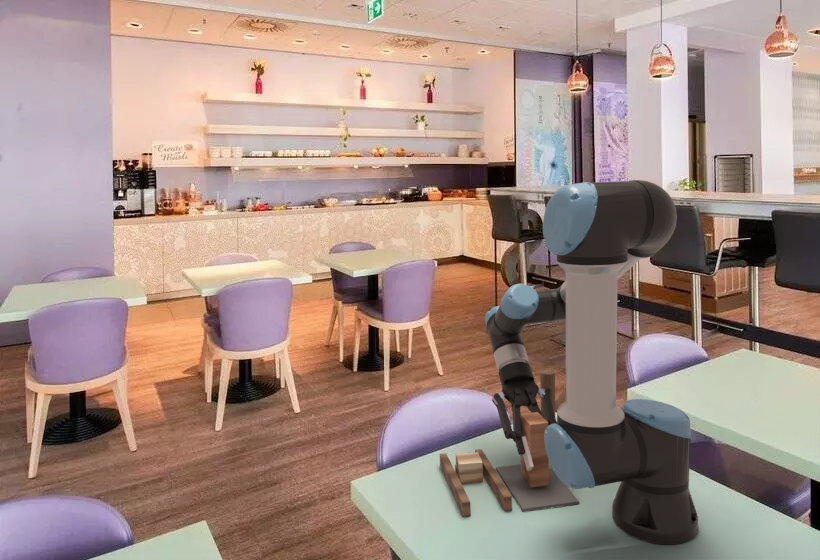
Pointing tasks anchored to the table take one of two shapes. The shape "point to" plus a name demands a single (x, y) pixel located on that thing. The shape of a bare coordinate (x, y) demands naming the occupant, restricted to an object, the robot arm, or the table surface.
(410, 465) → the table surface
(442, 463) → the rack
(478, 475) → the offcut lower
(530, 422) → the tall board
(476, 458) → the offcut upper
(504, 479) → the mat
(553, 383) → the brown wooden forked piece
